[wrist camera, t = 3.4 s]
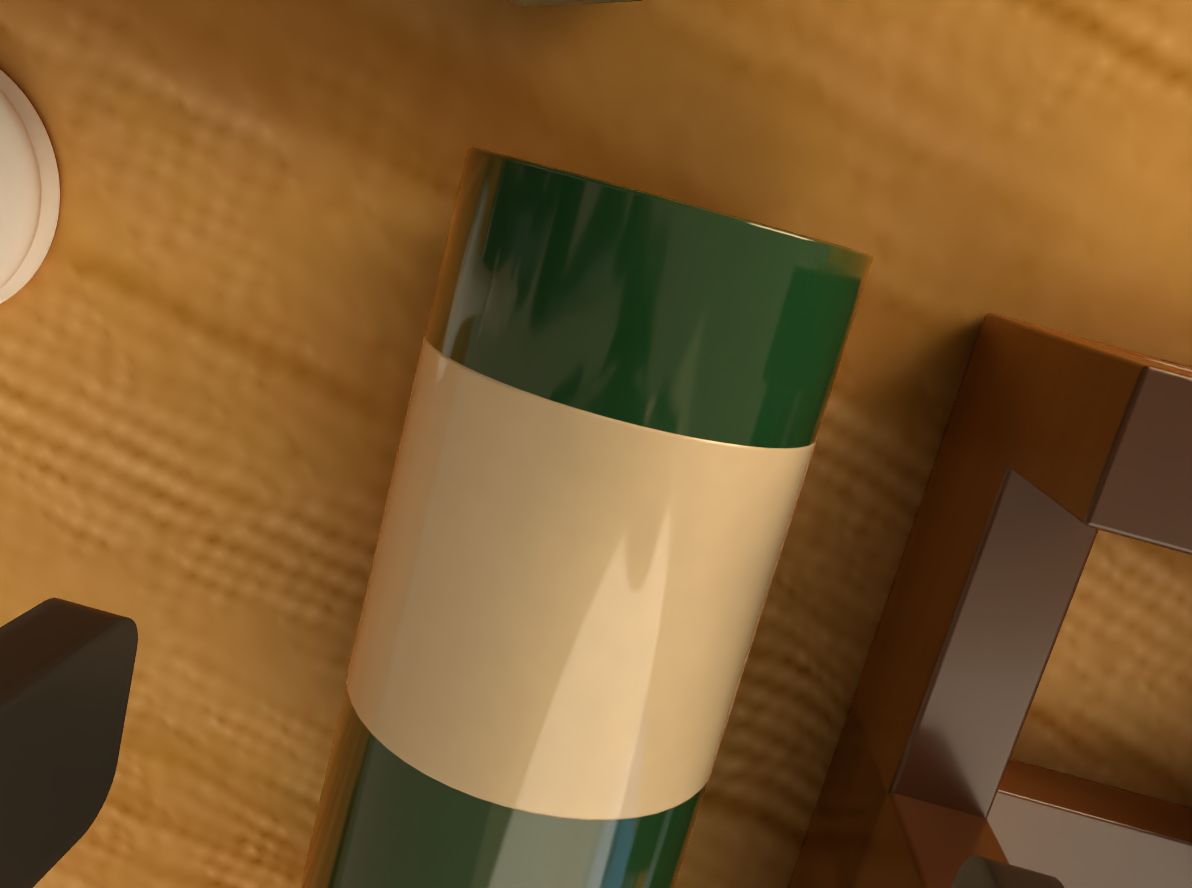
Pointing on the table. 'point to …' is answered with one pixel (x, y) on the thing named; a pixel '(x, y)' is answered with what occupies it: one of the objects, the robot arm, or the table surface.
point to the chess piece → (24, 189)
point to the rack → (1008, 628)
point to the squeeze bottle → (562, 2)
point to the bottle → (576, 534)
